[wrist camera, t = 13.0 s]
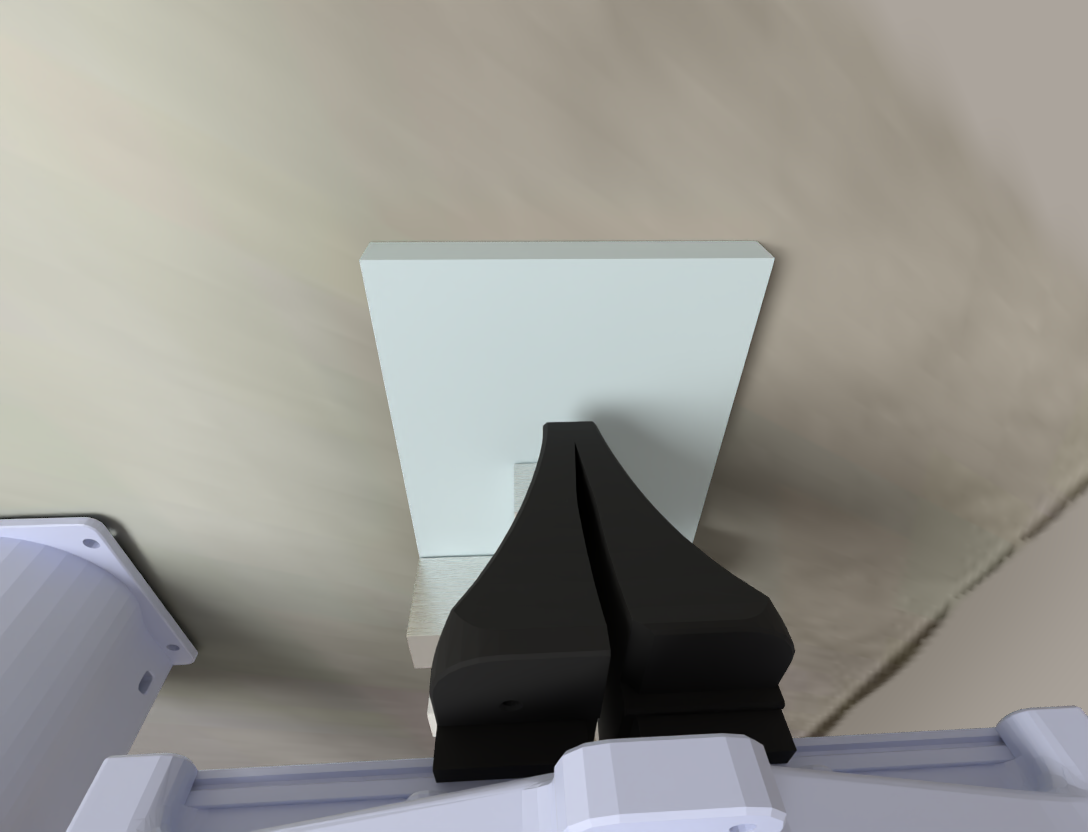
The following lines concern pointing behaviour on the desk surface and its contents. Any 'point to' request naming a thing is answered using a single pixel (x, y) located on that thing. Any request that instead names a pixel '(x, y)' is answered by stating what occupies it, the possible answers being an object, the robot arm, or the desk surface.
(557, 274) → the pale blue stepped plate
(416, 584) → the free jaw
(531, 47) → the desk surface
